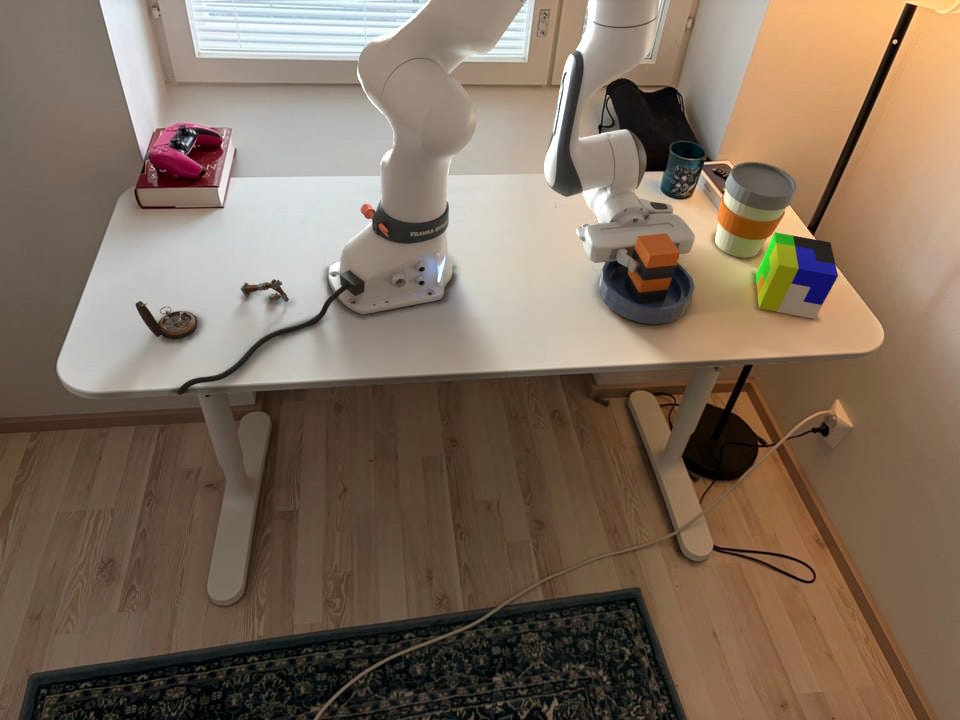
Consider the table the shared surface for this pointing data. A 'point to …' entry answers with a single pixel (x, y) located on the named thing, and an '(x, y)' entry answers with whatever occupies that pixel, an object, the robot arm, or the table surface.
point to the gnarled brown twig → (265, 286)
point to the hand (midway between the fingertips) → (655, 267)
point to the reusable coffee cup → (752, 207)
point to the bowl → (650, 313)
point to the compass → (169, 322)
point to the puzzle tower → (652, 268)
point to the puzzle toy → (795, 275)
